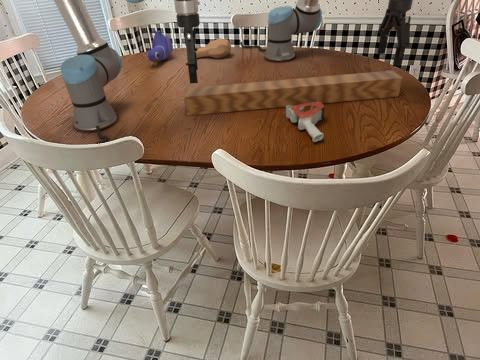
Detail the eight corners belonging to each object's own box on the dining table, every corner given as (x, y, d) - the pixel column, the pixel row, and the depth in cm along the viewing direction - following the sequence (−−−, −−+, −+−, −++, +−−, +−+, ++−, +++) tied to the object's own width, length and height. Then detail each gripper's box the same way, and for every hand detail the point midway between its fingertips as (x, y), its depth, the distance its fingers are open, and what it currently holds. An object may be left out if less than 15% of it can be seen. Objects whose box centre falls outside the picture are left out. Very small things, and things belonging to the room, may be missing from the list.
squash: (233, 58, 187) (229, 42, 180) (196, 65, 189) (191, 49, 182) (232, 49, 194) (229, 33, 188) (196, 56, 196) (192, 40, 190)
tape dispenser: (318, 148, 112) (340, 119, 125) (320, 134, 109) (342, 106, 122) (269, 134, 120) (295, 107, 132) (269, 120, 116) (295, 94, 129)
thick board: (187, 115, 134) (184, 96, 130) (187, 106, 141) (184, 88, 137) (398, 96, 138) (402, 77, 134) (389, 88, 145) (392, 70, 140)
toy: (161, 62, 200) (141, 68, 178) (157, 30, 193) (135, 32, 171) (177, 61, 198) (159, 67, 176) (173, 29, 191) (154, 30, 169)
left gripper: (198, 21, 107) (204, 88, 120) (198, 5, 128) (203, 64, 140) (173, 22, 107) (182, 89, 120) (177, 6, 127) (184, 65, 140)
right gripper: (431, 3, 111) (414, 70, 124) (395, -11, 131) (384, 48, 144) (408, 5, 110) (393, 72, 123) (376, -9, 130) (366, 50, 143)
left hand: (194, 76), depth 130 cm, fingers open, 13 cm apart
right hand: (388, 59), depth 133 cm, fingers open, 13 cm apart
